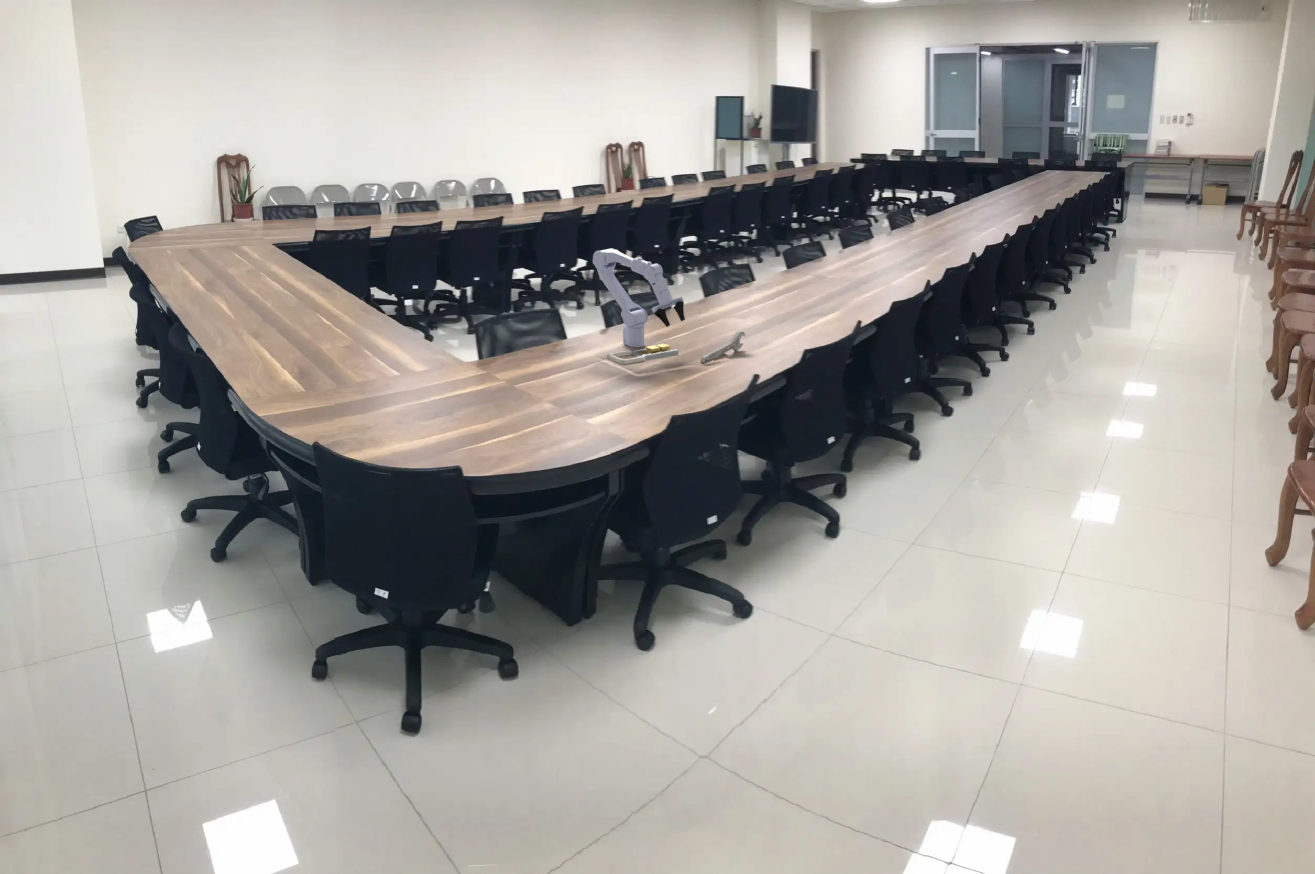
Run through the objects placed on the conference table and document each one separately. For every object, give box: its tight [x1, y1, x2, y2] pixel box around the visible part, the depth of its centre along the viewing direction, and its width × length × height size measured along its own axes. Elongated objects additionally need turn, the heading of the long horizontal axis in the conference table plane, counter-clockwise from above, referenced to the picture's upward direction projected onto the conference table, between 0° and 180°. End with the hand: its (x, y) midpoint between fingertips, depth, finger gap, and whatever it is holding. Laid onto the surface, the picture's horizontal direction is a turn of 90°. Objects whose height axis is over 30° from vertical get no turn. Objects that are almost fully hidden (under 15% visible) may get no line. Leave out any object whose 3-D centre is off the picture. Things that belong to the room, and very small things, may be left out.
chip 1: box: [645, 345, 660, 354], centre depth 369 cm, size 4×4×3 cm
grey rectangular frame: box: [606, 349, 645, 365], centre depth 363 cm, size 12×10×2 cm
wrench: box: [700, 330, 746, 365], centre depth 370 cm, size 8×2×30 cm
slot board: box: [630, 348, 681, 362], centre depth 370 cm, size 12×17×2 cm
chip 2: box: [655, 343, 671, 352], centre depth 371 cm, size 4×4×3 cm
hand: (675, 323), depth 368 cm, fingers open, 7 cm apart
